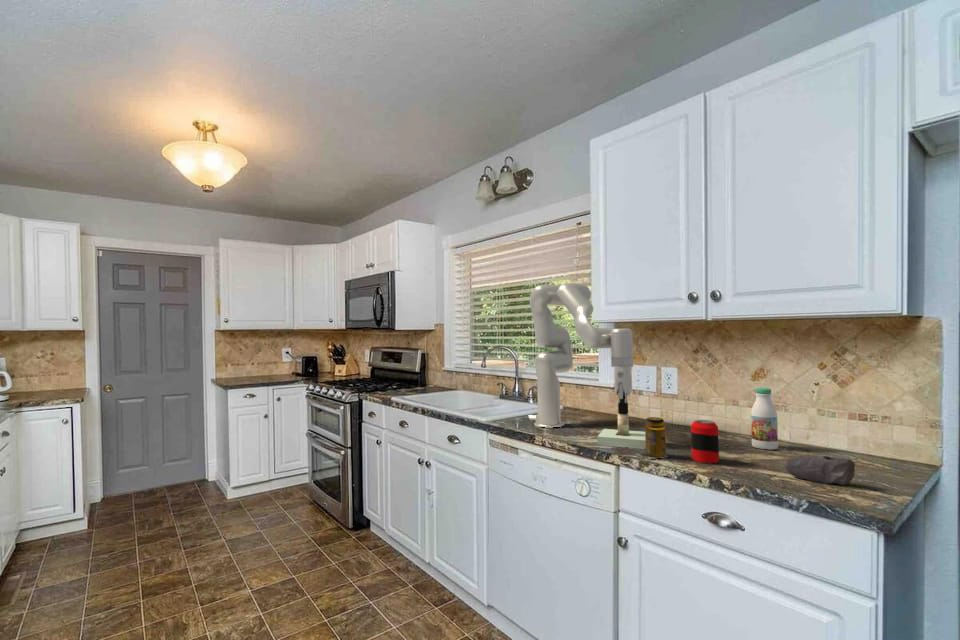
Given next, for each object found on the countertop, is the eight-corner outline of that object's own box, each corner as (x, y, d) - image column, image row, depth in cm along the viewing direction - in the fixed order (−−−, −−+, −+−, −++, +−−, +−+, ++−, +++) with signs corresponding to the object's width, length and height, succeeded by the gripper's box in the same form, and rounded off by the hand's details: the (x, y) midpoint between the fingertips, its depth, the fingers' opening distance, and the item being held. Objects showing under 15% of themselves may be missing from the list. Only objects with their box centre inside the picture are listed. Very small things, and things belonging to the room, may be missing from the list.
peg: (617, 443, 168) (616, 415, 168) (618, 441, 171) (618, 413, 172) (628, 444, 166) (628, 415, 166) (629, 441, 170) (629, 414, 170)
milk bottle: (751, 443, 165) (750, 386, 165) (777, 446, 161) (776, 387, 161) (751, 448, 158) (749, 389, 159) (778, 451, 154) (777, 390, 155)
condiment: (671, 457, 149) (671, 419, 149) (652, 460, 145) (651, 421, 146) (654, 452, 156) (653, 415, 156) (634, 455, 152) (634, 417, 152)
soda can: (686, 459, 147) (685, 420, 147) (704, 456, 149) (703, 418, 150) (705, 465, 140) (704, 424, 140) (724, 462, 142) (723, 422, 143)
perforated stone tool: (783, 478, 127) (782, 452, 127) (787, 473, 131) (786, 448, 131) (854, 490, 117) (853, 462, 117) (856, 485, 121) (855, 458, 121)
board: (597, 445, 166) (597, 436, 166) (604, 436, 178) (603, 428, 178) (645, 449, 159) (645, 440, 159) (648, 440, 172) (648, 432, 172)
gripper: (630, 364, 161) (631, 418, 161) (635, 361, 175) (636, 411, 174) (608, 363, 164) (609, 416, 164) (614, 361, 178) (615, 410, 177)
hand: (623, 413), depth 169 cm, fingers closed
